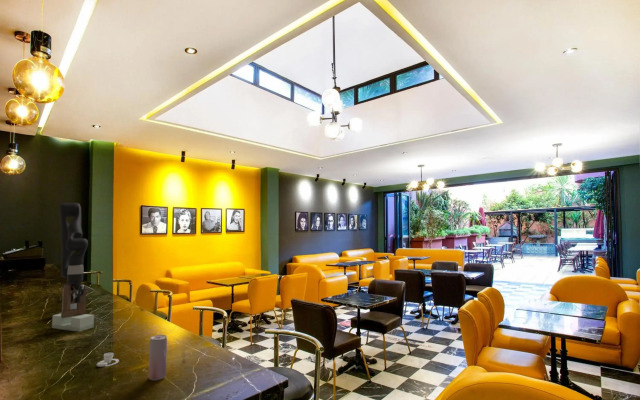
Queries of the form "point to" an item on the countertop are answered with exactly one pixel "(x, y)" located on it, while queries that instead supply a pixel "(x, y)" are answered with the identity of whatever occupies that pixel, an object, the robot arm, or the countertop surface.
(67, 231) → the robot arm
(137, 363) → the countertop surface
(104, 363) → the teacup and saucer
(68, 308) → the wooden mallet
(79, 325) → the slotted beam
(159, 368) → the beverage can
